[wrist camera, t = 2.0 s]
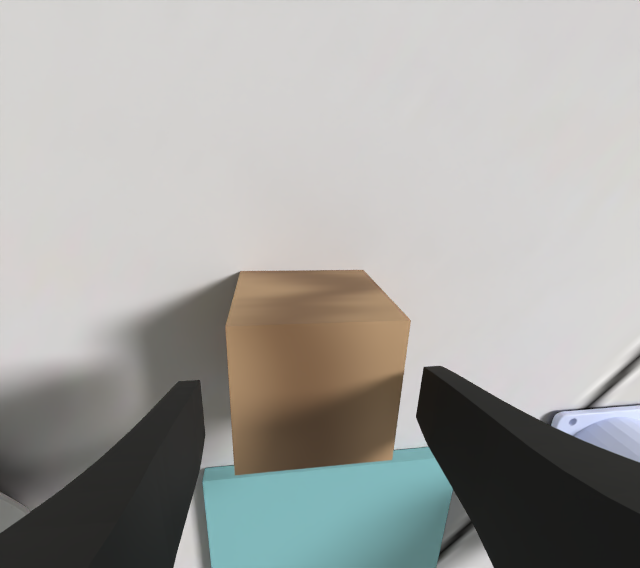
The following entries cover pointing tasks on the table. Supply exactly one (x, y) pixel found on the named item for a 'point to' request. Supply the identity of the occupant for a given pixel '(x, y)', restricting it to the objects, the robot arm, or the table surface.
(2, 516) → the robot toy
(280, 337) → the walnut cube
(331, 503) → the teal board
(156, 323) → the table surface
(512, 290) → the table surface
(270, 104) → the table surface
